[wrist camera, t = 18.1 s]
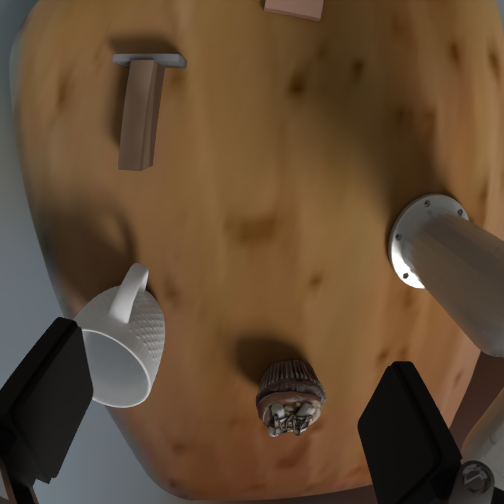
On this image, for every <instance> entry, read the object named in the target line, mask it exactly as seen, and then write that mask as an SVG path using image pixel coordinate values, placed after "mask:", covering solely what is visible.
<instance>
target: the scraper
mask: <svg viewBox="0 0 504 504" xmlns="http://www.w3.org/2000/svg"><path fill="white" fill-rule="evenodd" d="M112 62H115V63H117V64H120V65H122V66H125V67H130V69H129V75H128V82H127V88H126V95H125V103H124V110H123V119H122V128H121V138H120V149H119V162H118V169H120V170H132V171H141V170H144V169H146V168H148V167H151V166H153V157H154V147H155V138H156V129H157V121H158V113H159V106H160V99H161V92H162V85H163V79H164V73H165V67H166V68H186V65H187V61H186V60H185V59H184V58H183V57H182V56H181V55H180V54H114V55H113V61H112Z"/></svg>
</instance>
